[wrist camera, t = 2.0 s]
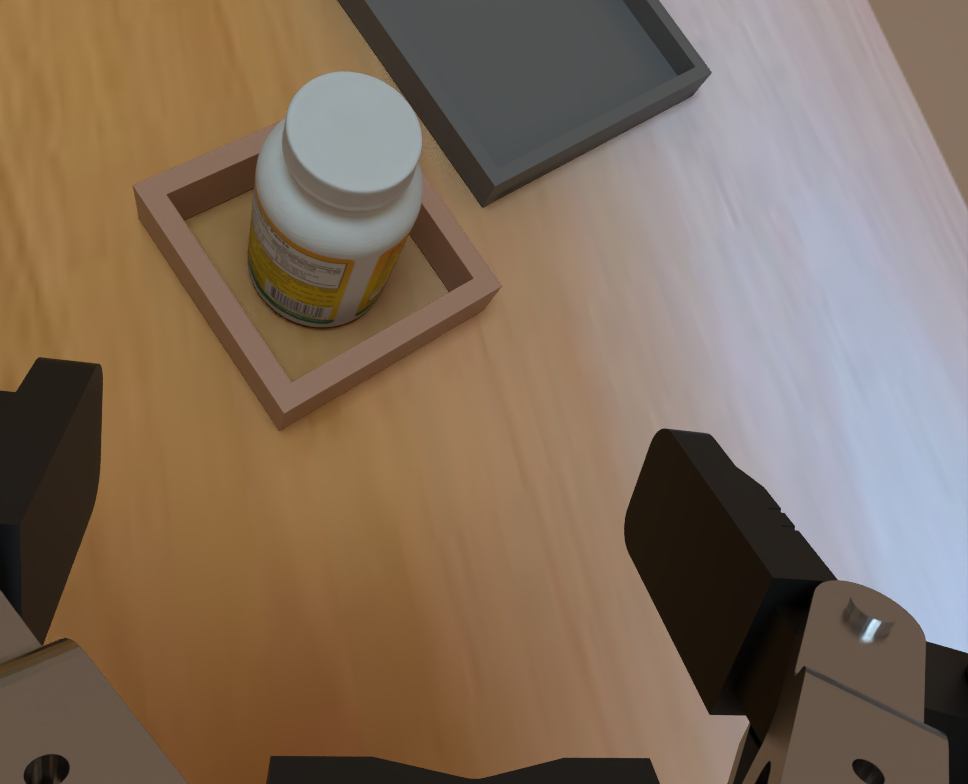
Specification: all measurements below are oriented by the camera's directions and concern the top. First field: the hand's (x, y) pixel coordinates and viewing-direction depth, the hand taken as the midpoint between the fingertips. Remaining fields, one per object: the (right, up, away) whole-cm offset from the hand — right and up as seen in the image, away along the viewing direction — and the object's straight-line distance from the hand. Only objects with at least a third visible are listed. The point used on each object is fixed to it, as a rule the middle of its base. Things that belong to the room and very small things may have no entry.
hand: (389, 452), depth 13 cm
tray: (+1, +19, +27) cm, 33 cm away
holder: (-5, +6, +21) cm, 23 cm away
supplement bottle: (-5, +6, +21) cm, 23 cm away
